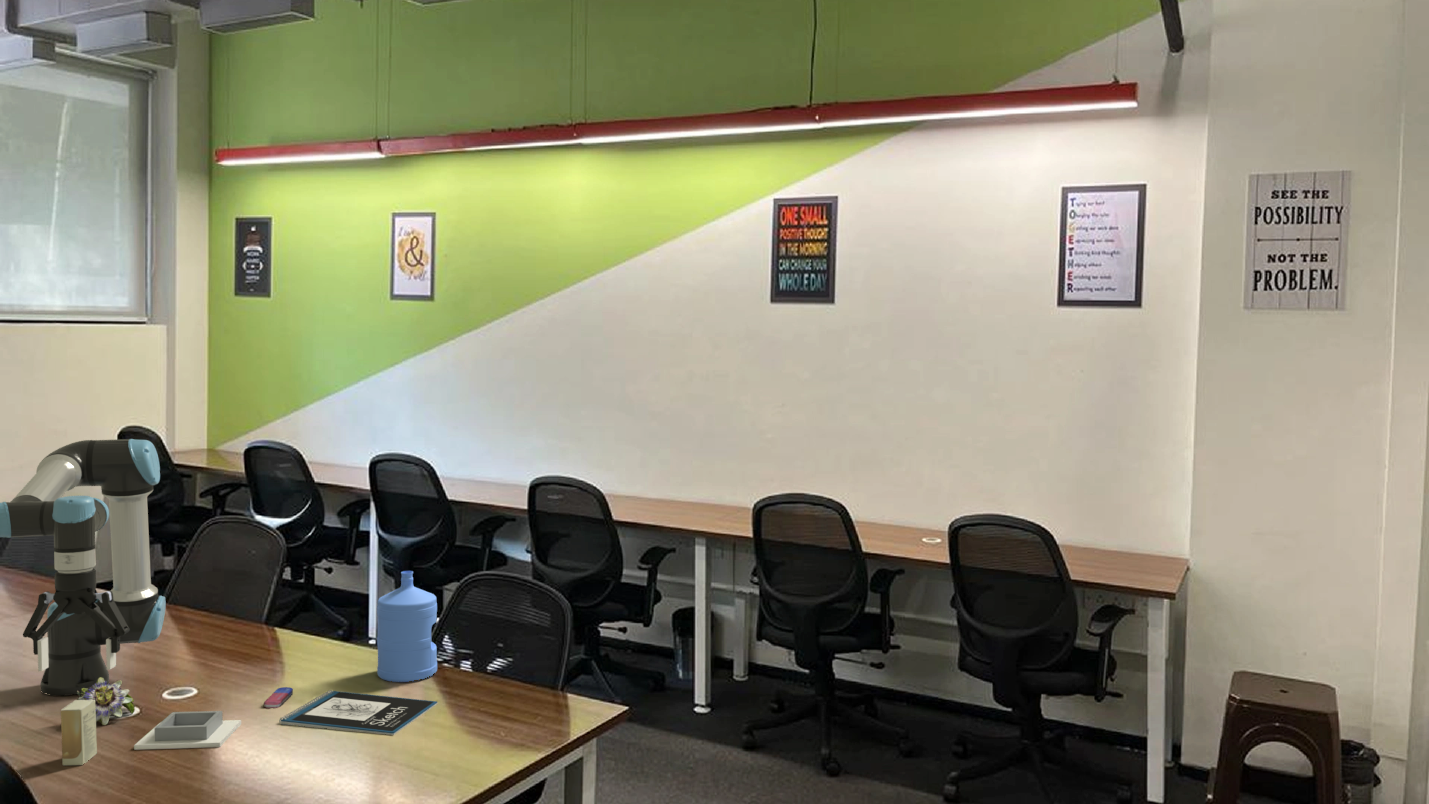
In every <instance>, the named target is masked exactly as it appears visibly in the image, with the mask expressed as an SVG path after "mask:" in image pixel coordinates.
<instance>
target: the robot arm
mask: <svg viewBox="0 0 1429 804" xmlns="http://www.w3.org/2000/svg"><path fill="white" fill-rule="evenodd" d="M36 467H37V468H36V473H35V474H34V475H33V476H32V478H31V479H30V480H29V481H28V482H27V483H26V485H24V486H23V488H21V490H20V491H19V492H18V493H17V494H16V496H15V497H14V498H12V500H11V501H1V502H0V538H8V539H9V538H10V539H11V538H24V537H26V538H27V537H45V536H47V537H49V536H53V551H54V553H53V554H54V555H53V556H54V557H53V558H54V561H53V562H54V563H53V565H54V570H55V571H56V572H55V573H54V593H51V592H50V591H48V590H47V591H45V592H42V593H40V594H39V595H38V599H37V606H36V608H35V609H34V611H33V613H32V615H31V617H30V619H29V621H28V623H27V625H26V627H25V629H24V631H23V633H22V636H23V638H30V639H32V646H33V647H32V649H33V655H36V656H37V670H38V672H43V671H44V672H43V675H42V677H41V680H40V692H41V691H42V692H43V693H47V694H50V695H49V696H53V695H64V696H72V695H71V694H74V695H78V694H77V691H78V692H80V693H81V689H82V688H86V689H88V688H89V687H92V685H94V684H95V683H96V682H97V680H98V678H100V677H101V678H103V679H104V681H107V683H106V684H107V685H108V684H109V683H110V673H109V671H111V670H112V669H114V668H115V667H116V666H117V653H119V652H120V650H121V645H123V644H124V645H125V644H141V643H148V642H153V641H156V640H157V639H158V638H159V637H160V635H161V633H162V628H163V626H164V625H163V624H164V619H165V614H166V606H167V605H166V603H167V602H166V597H165V596H164V595H163V596H162V595H159V589H158V587H156V586H155V585H154V584H152V579H151V578H152V576H151V557H150V554H151V553H150V535H149V533H150V532H149V514H148V513H149V509H148V496H149V495H150V494H152V493H153V491H154V486H156V485H158V484H159V483H160V480H161V473H160V471H161V466H160V459H159V455H158V451H157V449H156V447H155V445H154V444H153V442H152V441H150V440H147V439H136V438H135V439H133V438H125V439H124V438H122V439H120V438H117V439H98V440H97V439H95V440H94V439H85V440H84V439H83V440H79V441H75V442H71V443H69V444H66V445H64V446H61V447H59V448H57V449H55V450H54V451H52V452H50V453H49V454H48V455H46V456H45V457H44V458H43V459H42V460H41V461H40V462H39V463H38V465H37V466H36ZM76 487H101V488H100V489H101V495H102V496H103V497H105V498H106V499H108V505H107V503H105V502H104V501H103V500H102V499H101V498H96V497H92V496H90V495H69V496H64V495H65V494H66V492H69V491H71V490H73V489H74V488H76ZM108 520H109V525H110V526H109V528H110V544H111V545H110V547H111V565H112V566H111V567H112V583H113V584H112V586H113V587H112V588H111V590H110V589H109V590H107V591H104V592H98V591H97V570H96V569H95V568H96V566H97V559H96V558H97V557H96V552H97V551H96V533H97V532H99V531H100V530H101V529H103V528H104V526H105V525H106V524H107V523H108ZM53 601H54V602H53ZM50 603H51V604H50ZM46 611H47V613H46ZM45 613H46V615H47V617H46V618H47V619H46V620H44V621H43V623H42V624H41V626H40V623H41V621H42V619H43V618H44V615H45ZM38 627H39V628H38ZM46 633H47V637H46ZM101 646H105V648H106V649H105V652H106V653H105V655H106V656H105V659H106V664H105V660H104V659H103V655H102V653H101V650H102V649H101V648H102V647H101ZM42 692H41V693H42ZM43 693H42V694H43Z"/></svg>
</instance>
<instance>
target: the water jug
mask: <svg viewBox="0 0 1429 804" xmlns="http://www.w3.org/2000/svg"><path fill="white" fill-rule="evenodd" d="M400 574H401V578H400V581H401V582H400V583H401V584H400V587H398V588H396V589H394V590H392V591H390V592H388V593H386V594H384V595H382V596H380V597H378V600H377V607H376V615H377V637H376V638H377V639H376V646H377V666H376V668H377V670H376V671H377V673H376V674H377V676H378V677H379V678H380V679H381V680H383V681H387V682H391V681H392V683H407V682H408V683H410V682H409V681H412V682H415V681H414V680H418V681H420V680H419V679H422V680H426V679H428V678H430V677H433V674H434V673H435V674H437V673H436V672H438V660H437V655H438V654H437V652H438V651H437V648H438V647H437V644H435V643H434V642H433V641H432V627H433V625H435V623H436V622H437V621H438V620H437V615H438V614H437V612H438V603H437V596H436V595H435V594H434V593H432V592H429V591H426V590H424V589H421V588H419V587H416V586H414V577H413V574H414V571H413V570H403V571H401V572H400ZM435 674H434V675H435ZM429 676H430V677H429ZM427 677H428V678H427ZM425 678H426V679H425Z"/></svg>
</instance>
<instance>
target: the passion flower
mask: <svg viewBox="0 0 1429 804" xmlns="http://www.w3.org/2000/svg"><path fill="white" fill-rule="evenodd" d="M106 683H107V681H104V679H103V678H101V677H100V678H98V680H97V682H96V683H95V684H94V685H92V687H89V688H88V689H86V688H82V689H81V693H80V692H78V691H77V694H76V695H77V696H79V697H78V698H76V700H95V710H96V723H97V722H99V723H101V725H102V726H103V725H105V726H106V725H108V723H109V720H110V716H112V715H113V716H115V717H116V718H122V717H123V711H122V707H124V708H125V709H126V710H127V711H128V712H129V713H130V714H131V715H133V714H134V712H135V707H136V706H135V703H133V702H135V701H134V698H133V697H132V696H131V695H130V694H129V693H130V689H127V688H126V689H122V688H121V685H122V683H123V682H122V680H117V681H114V682H112V683H110V682H109V683H108V684H106Z"/></svg>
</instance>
